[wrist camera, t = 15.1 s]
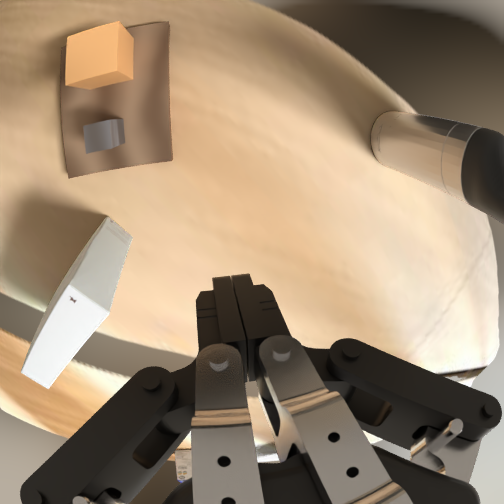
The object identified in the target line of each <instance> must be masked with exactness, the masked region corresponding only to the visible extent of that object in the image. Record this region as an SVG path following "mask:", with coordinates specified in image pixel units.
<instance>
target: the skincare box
mask: <svg viewBox="0 0 504 504" xmlns="http://www.w3.org/2000/svg"><path fill="white" fill-rule="evenodd" d="M132 239H133V237H132V236H131V235H130V234H129V233H128V232H126V231H125V230H124V229H123V228H121V227H120V226H119V225H118V224H117V223H116V222H114V221H113V220H112V219H111V218H110V217H108V216H107V217H106V218H105V219H104V221H103V222H102V223H101V225H100V226H99V227H98V229H97V230H96V231H95V233H94V234H93V235H92V237H91V238H90V239H89V241H88V242H87V244H86V245H85V247H84V248H83V249H82V251H81V252H80V254H79V255H78V257H77V258H76V260H75V261H74V263H73V264H72V266H71V267H70V269H69V270H68V272H67V274H66V275H65V277H64V278H63V280H62V282H61V283H60V285H59V287H58V288H57V290H56V292H55V294H54V295H53V297H52V299H51V301H50V302H49V304H48V307H47V309H46V311H45V313H44V315H43V318H42V320H41V322H40V325H39V327H38V329H37V331H36V334H35V336H34V339H33V341H32V343H31V345H30V348H29V350H28V353H27V356H26V358H25V361H24V364H23V367H22V370H21V373H23V374H24V375H26V376H27V377H29V378H31V379H32V380H34V381H35V382H37V383H39V384H40V385H42V386H44V387H46V388H47V389H49V388H50V386H51V385H52V384H53V382H54V381H55V380H56V378H57V377H58V376H59V374H60V373H61V372H62V370H63V369H64V368H65V367H66V365H67V364H68V363H69V362H70V360H71V359H72V358H73V357H74V355H75V354H76V353H77V352H78V350H79V349H80V348H81V347H82V345H83V344H84V343H85V342H86V341H87V339H88V338H89V337H90V336H91V335H92V333H93V332H94V331H95V330H96V329H97V328H98V326H99V325H100V324H101V323H102V322H103V321H104V320H105V318H106V317H107V316H108V315H109V314H110V309H111V306H112V302H113V298H114V295H115V291H116V288H117V285H118V281H119V278H120V275H121V271H122V268H123V265H124V262H125V259H126V256H127V253H128V250H129V247H130V244H131V241H132Z"/></svg>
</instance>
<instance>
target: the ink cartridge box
mask: <svg viewBox="0 0 504 504" xmlns="http://www.w3.org/2000/svg"><path fill="white" fill-rule="evenodd" d="M175 460H176V470H177V480H178V481H179V482H181V483H182V482H184V481H185V480H187V479H189V478H191V477H192V455H191V450H175Z"/></svg>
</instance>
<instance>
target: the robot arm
mask: <svg viewBox="0 0 504 504" xmlns="http://www.w3.org/2000/svg"><path fill="white" fill-rule="evenodd" d="M371 146H372V150H373V153H374V155H375V157H376V158H377V160H378V161H379V162H380V163H381V164H383V165H384V166H386V167H389V168H391V169H394V170H396V171H399V172H401V173H403V174H405V175H408V176H410V177H413V178H415V179H417V180H419V181H422V182H424V183H426V184H428V185H431V186H433V187H435V188H437V189H439V190H441V191H443V192H445V193H447V194H449V195H451V196H454V197H456V198H457V199H459V200H461V201H463V202H465V203H467V204H469V205H471V206H473V207H475V208H476V209H478V210H480V211H482V212H484V213H486V214H488V215H490V216H491V217H493V218H495V219H496V220H498V221H499V222H501V223H503V224H504V136H503V135H502V134H501V133H499V132H496V131H494V130H490V129H486V128H482V127H478V126H474V125H470V124H466V123H461V122H457V121H452V120H447V119H442V118H437V117H431V116H426V115H419V114H412V113H405V112H397V111H388V112H385V113H383V114H382V115H380V116H379V117H378V118H377V119H376V121H375V123H374V125H373V128H372V132H371ZM212 281H213V290H211V291H202V292H200V294H199V295H198V297H197V299H196V311H197V312H196V313H197V330H198V344H199V352H198V355H197V357H196V359H195V360H194V361H193V362H192V363H191V364H190V365H188V366H187V367H185V368H182V369H180V370H177V371H174V372H171V373H170V372H169V371H168V370H166V369H164V368H161V367H156V366H155V367H147V368H144V369H142V370H140V371H138V372H137V373H136V374H135V375H134V376H133V377H132V378H131V379H130V380H129V381H128V382H127V383H126V384H125V385H124V386H123V387H122V388H121V389H120V390H119V391H118V392H117V393H116V394H115V395H114V396H113V397H111V398H110V399H109V400H108V401H107V402H106V403H105V404H104V405H103V406H102V407H101V408H100V409H99V410H98V411H97V412H96V413H95V414H94V415H93V416H92V417H91V418H90V419H89V420H88V421H87V422H86V423H85V424H84V425H83V426H82V427H81V428H80V429H79V430H78V431H77V432H76V433H75V434H74V435H73V436H72V437H71V438H69V440H67V441H66V443H64V444H63V445H62V446H61V447H60V448H59V449H58V450H57V451H56V452H55V453H54V454H53V455H52V456H51V457H50V458H49V459H48V460H47V461H46V462H45V463H44V464H43V465H42V466H41V467H40V468H39V469H37V470H36V471H35V472H34V473H33V474H32V475H31V476H30V477H29V478H28V479H27V480H26V481H25V482H24V483H23V485H22V487H21V491H20V497H21V501H22V504H129V503H130V502H131V501H132V500H133V498H134V497H135V496H136V495H137V494H138V493H139V492H140V491H141V490H142V488H143V487H144V486H145V485H146V484H147V483H148V482H149V480H150V479H151V478H152V477H153V476H154V475H155V474H156V472H157V471H158V470H159V469H160V468H161V467H162V465H163V464H164V463H165V462H166V461H167V459H168V458H169V457H170V456H171V455H172V453H173V452H174V451H175V450H176V448H177V447H178V446H179V445H180V444H181V442H182V441H183V440H184V439H185V437H186V436H187V435H188V434H189V432H190V431H191V455H192V477H191V478H189V479H187V480H185V481H184V482H182V483H181V484H180V485H178V486H177V487H176V488H175V489H174V490H173V491H172V492H171V493H170V494H169V496H168V497H167V498H166V500H165V501H164V502H163V503H162V504H480V499H479V495H478V493H477V491H476V490H475V488H474V487H473V486H472V485H470V484H469V481H470V477H471V474H472V472H473V468H474V465H475V461H476V458H477V455H478V451H479V447H480V442H481V439H482V438H483V437H484V436H485V435H486V434H487V433H489V432H490V431H491V430H492V429H493V428H494V427H496V426H497V425H498V423H499V422H500V420H501V416H502V410H501V406H500V404H499V402H498V400H497V399H496V398H495V397H493V396H491V395H489V394H486V393H484V392H481V391H478V390H476V389H473V388H471V387H468V386H465V385H463V384H460V383H458V382H455V381H452V380H450V379H448V378H445V377H443V376H440V375H438V374H435V373H433V372H430V371H428V370H426V369H423V368H421V367H418V366H416V365H414V364H411V363H409V362H407V361H404V360H402V359H400V358H397V357H395V356H393V355H390V354H388V353H386V352H383V351H381V350H379V349H377V348H374V347H372V346H370V345H368V344H365V343H363V342H361V341H359V340H356V339H351V338H345V339H340V340H338V341H336V342H335V343H333V344H332V346H331V348H330V349H316V348H308V347H305V346H302V345H301V343H300V342H299V341H298V340H296V339H295V338H293V337H292V336H291V334H290V332H289V330H288V327H287V325H286V323H285V320H284V318H283V316H282V314H281V311H280V309H279V307H278V304H277V302H276V300H275V297H274V295H273V293H272V291H271V290H270V289H269V288H268V287H266V286H265V285H264V284H261V285H253V282H252V280H251V277H250V274H241V275H232V276H231V277H230V276H224V277H215V278H212ZM247 374H248V378H249V381H255V380H256V382H257V385H258V392H259V393H258V397H259V401H260V403H261V406H262V409H263V411H264V414H265V417H266V419H267V422H268V425H269V427H270V430H271V432H272V435H273V438H274V441H275V445H276V451H277V454H278V458H279V460H280V463H274V464H273V463H258V462H257V456H256V450H255V443H254V437H253V430H252V423H251V417H250V413H249V409H248V402H247V395H246V388H245V382H247ZM362 430H364V431H366V432H368V433H370V434H373V435H375V436H377V437H379V438H381V439H384V440H386V441H388V442H391V443H393V444H396V445H398V446H401V447H403V448H405V449H408V450H410V453H411V456H410V461H408V460H406V459H404V458H401V457H399V456H397V455H395V454H393V453H390V452H388V451H386V450H384V449H382V448H380V447H377V446H374V445H371V444H370V443H369V441H368V439H367V438H366V436H365V434H364V432H363V431H362Z"/></svg>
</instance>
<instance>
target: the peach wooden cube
mask: <svg viewBox="0 0 504 504" xmlns="http://www.w3.org/2000/svg"><path fill="white" fill-rule="evenodd" d="M133 48H134V38H133V37H132V36H131V35H130V33H129V32H128V31H127V30H126V29H125V27H124V26H123V25H122V24H121V23H120V22H119V21H117V22H113V23H109V24H106V25H102V26H99V27H95V28H92V29H89V30H86V31H83V32H80V33H77V34H74V35H71V36H68V37H67V48H66V70H65V85H66V86H72V87H78V88H83V89H89V90H91V89H95V88H99V87H102V86H106V85H111V84H115V83H120V82H124V81H129V80H133Z"/></svg>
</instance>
